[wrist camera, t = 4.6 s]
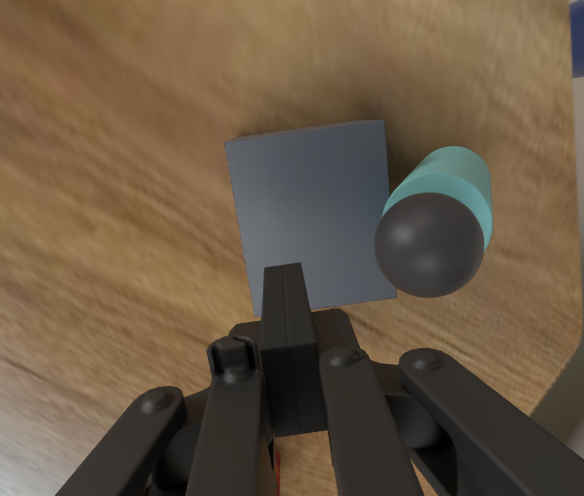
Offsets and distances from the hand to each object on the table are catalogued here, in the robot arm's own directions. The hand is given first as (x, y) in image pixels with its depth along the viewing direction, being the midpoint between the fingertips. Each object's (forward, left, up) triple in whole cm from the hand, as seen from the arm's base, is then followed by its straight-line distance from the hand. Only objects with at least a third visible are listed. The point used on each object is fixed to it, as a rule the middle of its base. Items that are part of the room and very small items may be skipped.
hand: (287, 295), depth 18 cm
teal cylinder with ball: (-11, 0, -20) cm, 23 cm away
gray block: (-2, 0, -20) cm, 20 cm away
